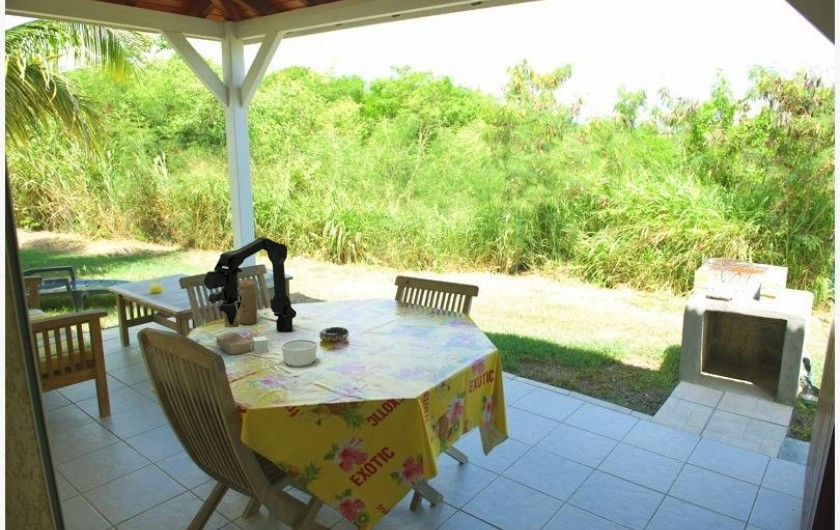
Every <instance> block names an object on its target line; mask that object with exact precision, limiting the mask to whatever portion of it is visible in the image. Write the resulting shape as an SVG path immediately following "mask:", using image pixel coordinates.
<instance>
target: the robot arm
mask: <svg viewBox="0 0 840 530" xmlns="http://www.w3.org/2000/svg"><path fill="white" fill-rule="evenodd" d="M262 250H263V251H266V254H267V258H268V260H269V261H270V263H271V265H272V266H271V267H272V276H273V289H274V290H273V292H274V296H273V298H272V299H270V301H269V303H270V310H271V312H273V316H274V317H277V318H276V330H277V332H278V333H287V332H290V333H291V332H293V330H294V325H293V323H294V322H293V321H294V320H293V319H294V318H296V317H297V311H296V310H295V309H294V308H293V307H292V304H291V303H292V302H291V299H290V298H289V297H288V294H287V287H286V286H287V285H286V274H285V271H286V270H285V262H286V259H287V258H288V247H287V245H286V244H284V243H279V242H276V241H274V240H273V239H270V238H268V237H262V236H259V237H257V239H255V240H253V241H251V242H250V243H247V244H246V245H244V246H241V247H240V248H238V249H235V250H229V251H225V252H223V253H221V254H220V255H219V259H218V261H217V262H216V265H215V267H214V269H213V270H210V271H209V270H208V271H207V272H206V275H205V276H204V279H203V284H204V286H205V288H206V289H207V290H214V289H219V288H221V290H219V291H216V292H213V293H210V294H209V295H208V296H207V298H208V300H207V301H208V302H209V303H210V305H214V304H215V303H217V302H222V303H220V305H219V306H218V307H219V309H218V310H219V312H223V313H226V315H227V317H228V320H229V324H230V325H233V322H234V320H235V317H236V314H237V311H238V309H239V308H240V305H241V303H242V302H238V300H239V299H240V301H242V300H243V295H242V294H241V293H239V286H238V283H239V273H242V272H243V270H242V269H241V268H240V266H241V265H243V263H244V262H245V260H246V259H248V258H250V257H251V256H253V255H255V254H256V253H259V252H261V251H262Z"/></svg>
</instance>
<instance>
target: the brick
mask: <svg viewBox="0 0 840 530" xmlns="http://www.w3.org/2000/svg"><path fill="white" fill-rule="evenodd" d="M215 341H216V345H217V346H218V345H219V346H220V349H222V350H223V349H224V351H225V352H226V351H227V352H226V353H228V354H229V355H238V354H244V353H247V352H251V350H252V348H251V347H252V346H251V343H252V342H251V341H250V340H249V339H247V338H245V337H243V336H242V335H241V334H239V333H237V332H234V331H233V332H227V333H226V332H225V333H222V334H217V335H216V340H215ZM219 346H218V347H219Z"/></svg>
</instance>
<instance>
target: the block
mask: <svg viewBox="0 0 840 530" xmlns="http://www.w3.org/2000/svg"><path fill="white" fill-rule="evenodd" d="M238 286H239V293H241V294H242V295H243V300H242V301H240V299H239V300H238V302H242V303H241V305H240V308H239V313H240V324H242V325H254V324H255V323H257V322H258V321H257V319H258V309H257V308H258V306H257V292H256V290H257V289H256V281H255V280H254V279H253V278H244V279H240V280H238Z"/></svg>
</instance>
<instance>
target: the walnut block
mask: <svg viewBox="0 0 840 530" xmlns="http://www.w3.org/2000/svg"><path fill="white" fill-rule="evenodd" d="M223 314H224V315H223V316H224V318H223V319H224V328H226V329H227V328H239V326H240V325H241V322H240V313H239V309H238V311H237V314H236V317H235V320H234V322H233V325H230V324H229V320H228V317H227V315H226V313H225V312H223Z"/></svg>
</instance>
